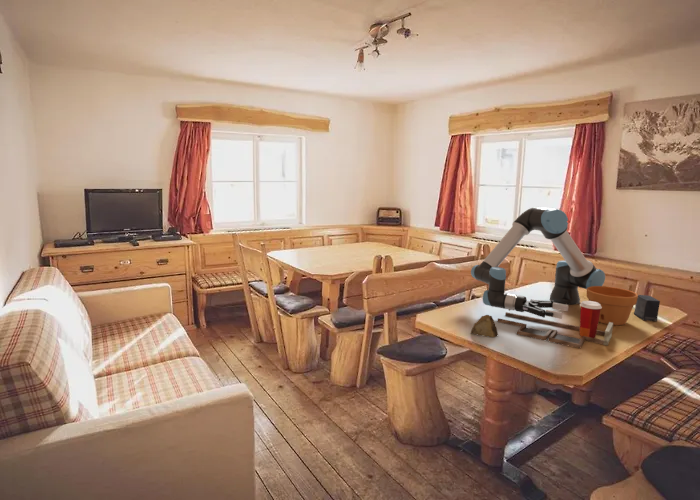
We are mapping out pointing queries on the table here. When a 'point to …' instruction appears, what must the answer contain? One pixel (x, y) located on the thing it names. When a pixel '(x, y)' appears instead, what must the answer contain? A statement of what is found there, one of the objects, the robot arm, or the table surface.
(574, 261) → the robot arm
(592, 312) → the coffee cup
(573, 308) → the table surface
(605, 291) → the flower pot
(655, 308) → the small box
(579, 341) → the channel
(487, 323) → the rock
